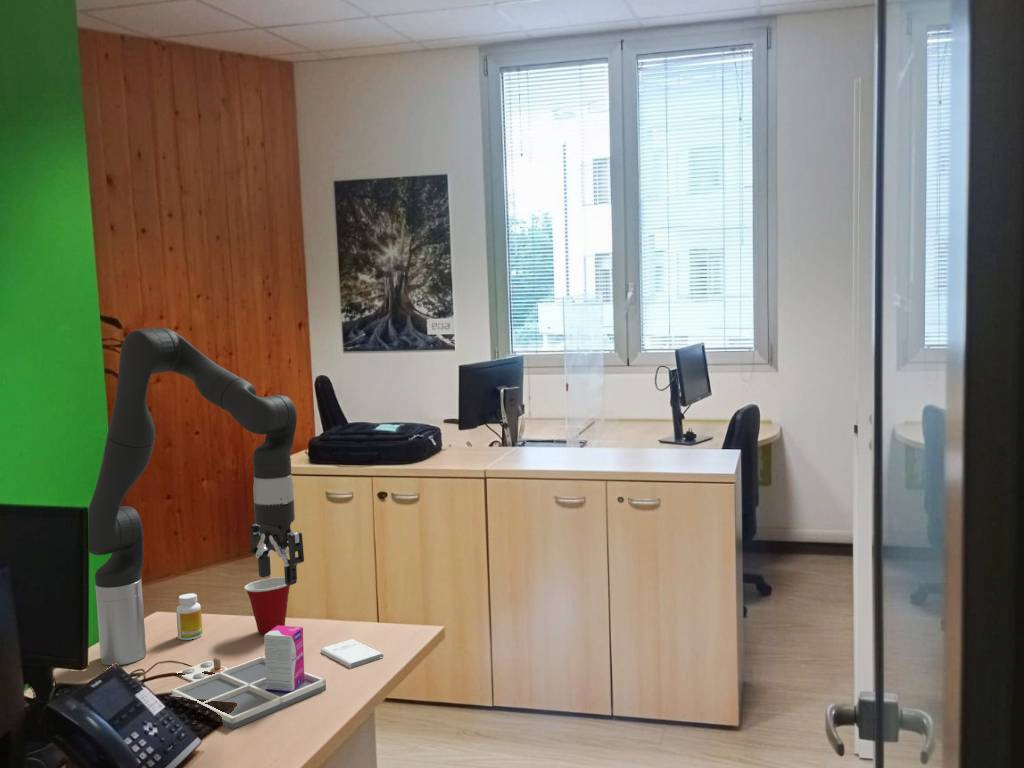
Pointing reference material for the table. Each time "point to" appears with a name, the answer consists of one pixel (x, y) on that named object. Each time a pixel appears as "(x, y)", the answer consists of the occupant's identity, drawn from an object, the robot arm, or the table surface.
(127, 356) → the robot arm
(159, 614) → the table surface
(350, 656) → the external hard drive
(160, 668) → the table surface
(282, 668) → the supplement box
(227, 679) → the socket board
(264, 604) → the plastic cup
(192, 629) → the supplement bottle
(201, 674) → the tile
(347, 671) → the table surface
